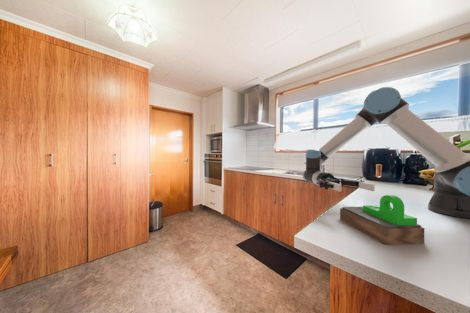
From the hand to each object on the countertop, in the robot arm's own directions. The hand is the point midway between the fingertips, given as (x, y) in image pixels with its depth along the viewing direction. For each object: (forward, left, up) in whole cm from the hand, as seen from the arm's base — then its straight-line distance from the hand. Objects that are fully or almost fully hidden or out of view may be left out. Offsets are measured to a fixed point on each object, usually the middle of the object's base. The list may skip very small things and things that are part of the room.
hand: (357, 188), depth 63 cm
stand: (0, +8, -13) cm, 15 cm away
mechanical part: (-2, +10, -8) cm, 13 cm away
